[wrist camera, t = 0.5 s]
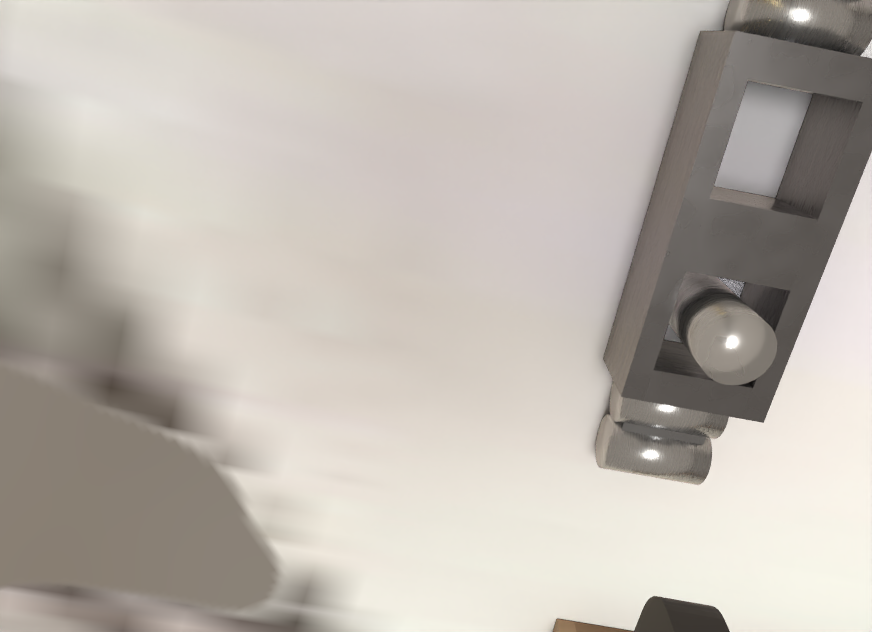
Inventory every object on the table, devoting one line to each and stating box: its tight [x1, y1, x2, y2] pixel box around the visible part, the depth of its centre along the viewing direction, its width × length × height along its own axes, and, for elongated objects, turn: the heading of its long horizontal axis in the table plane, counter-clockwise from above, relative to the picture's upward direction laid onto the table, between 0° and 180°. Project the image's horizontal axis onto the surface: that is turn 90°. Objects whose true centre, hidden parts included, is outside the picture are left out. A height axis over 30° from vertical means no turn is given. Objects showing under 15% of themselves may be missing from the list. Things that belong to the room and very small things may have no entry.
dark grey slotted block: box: [596, 0, 872, 485], centre depth 30 cm, size 25×6×6 cm, turn 169°
